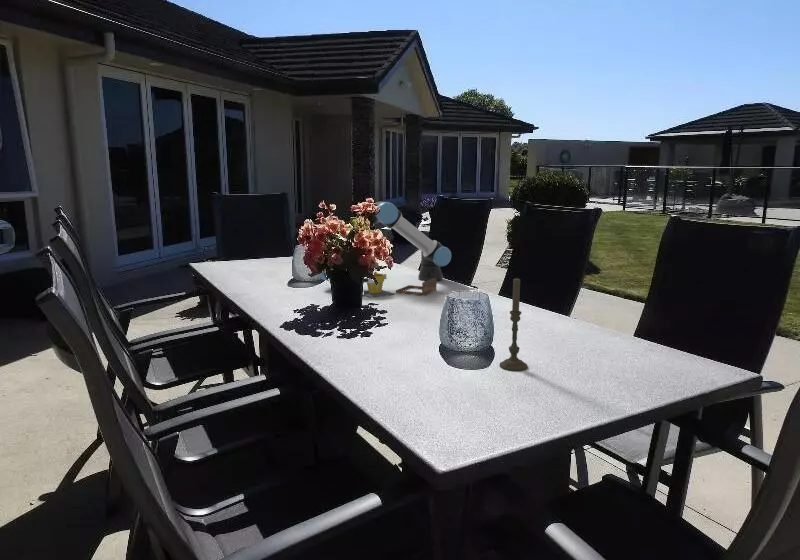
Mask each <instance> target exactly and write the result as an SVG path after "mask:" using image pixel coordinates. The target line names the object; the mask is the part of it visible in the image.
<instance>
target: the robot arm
mask: <svg viewBox="0 0 800 560" xmlns="http://www.w3.org/2000/svg"><path fill="white" fill-rule="evenodd" d="M375 204H376V205H377V206H378V207H379V208H380V212H379V213H378V214H377V215H375V217H374V219H373V226H372V227H374V226H375V225H376V224H378V223H381V224H382V225H383V226H385V227H386V228H387V229H391V230H392V229H393V230H394V231H395V232H396V233H398V234H399V235H400V236H402V237H403V238H405V239H406V240H407V241H408V242H410V244H412V245H413V246H415V247H416V248H417V249H418V250H419V251H420V252H421V253H420V255H421V257H420V259H421V265H420V269H419V273H418V280H419V281H423V280H425V281H428V280H430V279H433V278H437V281H438V282H439V281H442V280H443V279H444V274H443V272H442V269H441V267H446V266H447V265H448V264H449V263H450V262H451V260H452V252H451V250H450V249H449V248H448V247H446V246H444V245H442V244H441V242H440V241H437V240H435V239H433V240H432V239H431V238H429V237H428V236H427V235H426V234H424V232H422V231H421V230H420V229H419V228H417V227H416V226H414V224H412V223H411V222H409V220H408V219H406V218H404V217H403V214H402V212H401V211H400V210H399V209H398V208H397V206H396V205H395V204H393V203H392V202H389V201H376V202H375ZM373 273H374V274H380V273H379V272H377V271H375V272H373ZM383 274H384V280H387V273H383ZM319 276H320V278H321V280H323V281H328V282H330V281H329V280H328V279H327V277H326V275H325V273H323V274H320V273H319ZM425 281H424V282H425ZM363 283H366V284H367V283H374V281H373V280H372V279H368V278H365V279H364V282H363Z"/></svg>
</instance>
